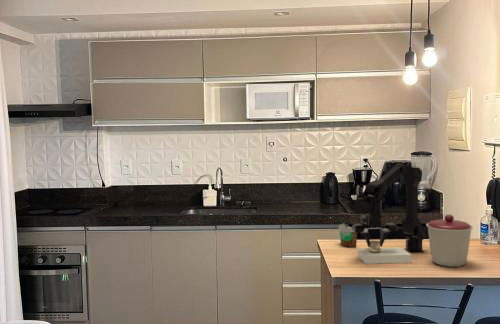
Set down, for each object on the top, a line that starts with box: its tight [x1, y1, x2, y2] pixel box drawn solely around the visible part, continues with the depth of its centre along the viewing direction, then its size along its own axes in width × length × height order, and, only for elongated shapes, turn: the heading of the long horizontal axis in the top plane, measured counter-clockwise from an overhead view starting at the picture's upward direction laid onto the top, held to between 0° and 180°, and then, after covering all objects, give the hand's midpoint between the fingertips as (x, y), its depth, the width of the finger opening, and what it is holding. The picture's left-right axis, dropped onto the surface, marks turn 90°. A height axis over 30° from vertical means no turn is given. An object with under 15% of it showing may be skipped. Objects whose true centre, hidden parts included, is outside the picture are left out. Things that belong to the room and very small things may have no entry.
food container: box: [338, 223, 358, 249], centre depth 224 cm, size 12×6×10 cm, turn 21°
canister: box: [425, 214, 474, 268], centre depth 190 cm, size 18×18×21 cm
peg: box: [368, 240, 381, 253], centre depth 199 cm, size 5×5×7 cm
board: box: [357, 247, 412, 265], centre depth 199 cm, size 20×12×4 cm, turn 92°
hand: (374, 246), depth 199 cm, fingers open, 5 cm apart
